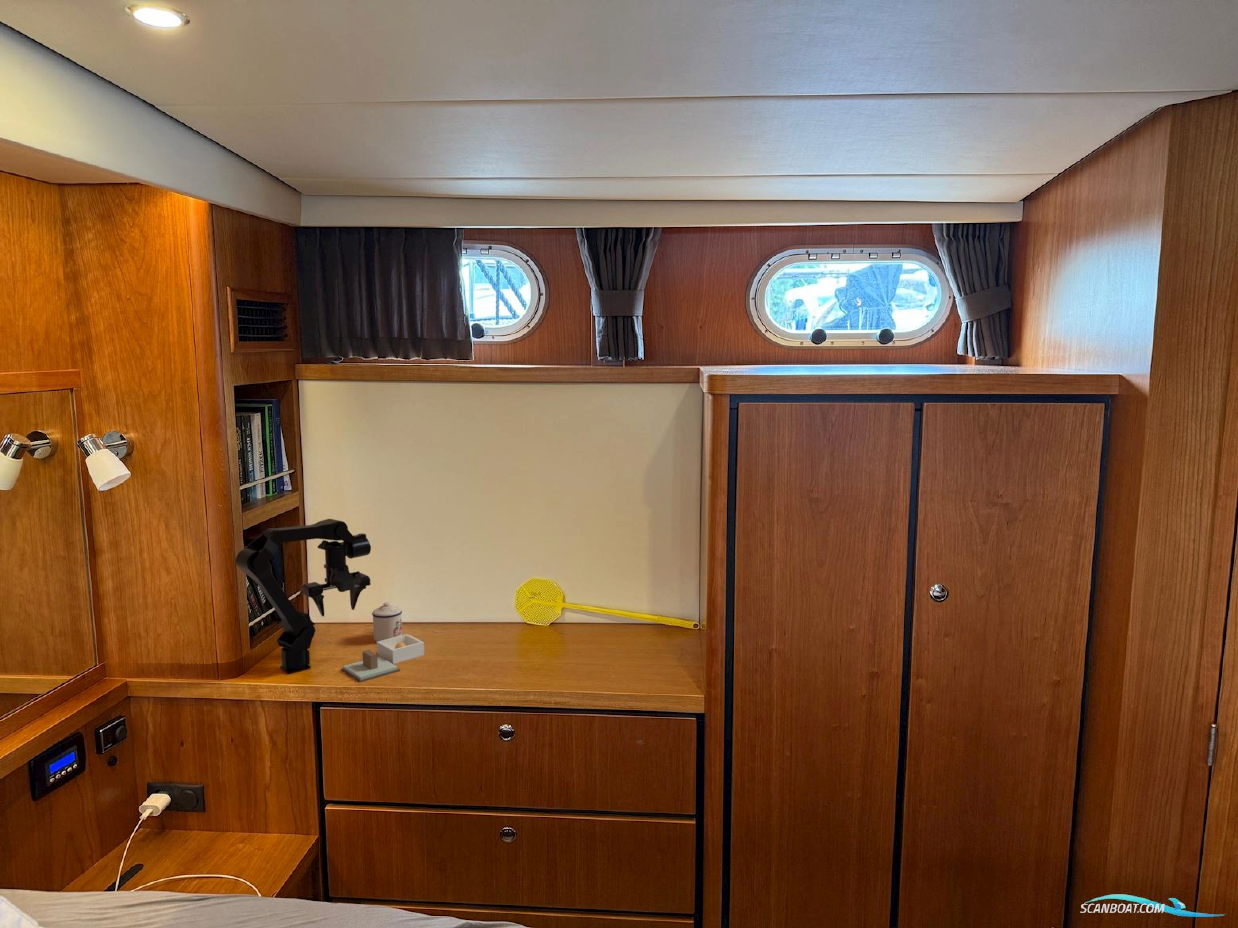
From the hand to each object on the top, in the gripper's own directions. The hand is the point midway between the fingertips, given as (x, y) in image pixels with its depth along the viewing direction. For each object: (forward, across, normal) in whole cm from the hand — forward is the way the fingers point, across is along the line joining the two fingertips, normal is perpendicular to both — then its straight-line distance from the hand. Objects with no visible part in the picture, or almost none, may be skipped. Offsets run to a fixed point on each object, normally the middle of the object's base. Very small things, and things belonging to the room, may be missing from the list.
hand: (338, 612), depth 233 cm
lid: (+12, +1, -18) cm, 22 cm away
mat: (+13, +1, -18) cm, 22 cm away
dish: (+13, +13, -13) cm, 22 cm away
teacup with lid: (+13, +18, +4) cm, 23 cm away
